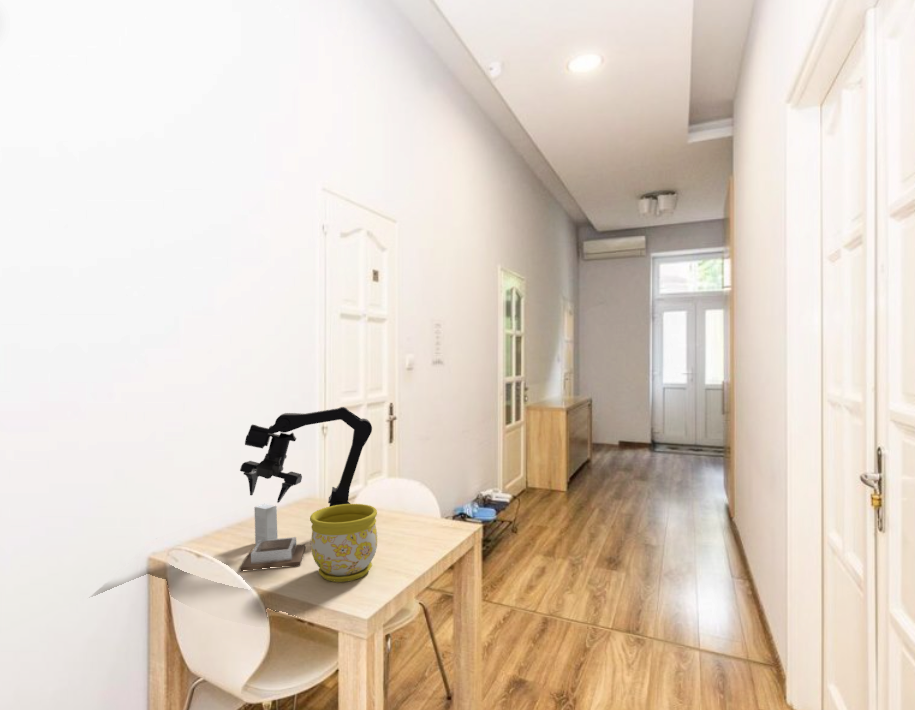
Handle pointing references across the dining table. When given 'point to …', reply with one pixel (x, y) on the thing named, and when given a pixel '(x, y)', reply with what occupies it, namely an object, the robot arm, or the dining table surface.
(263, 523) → the skincare box
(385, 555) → the dining table surface
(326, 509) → the flowerpot
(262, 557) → the light gray square frame
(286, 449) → the robot arm
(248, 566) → the square wooden tray
